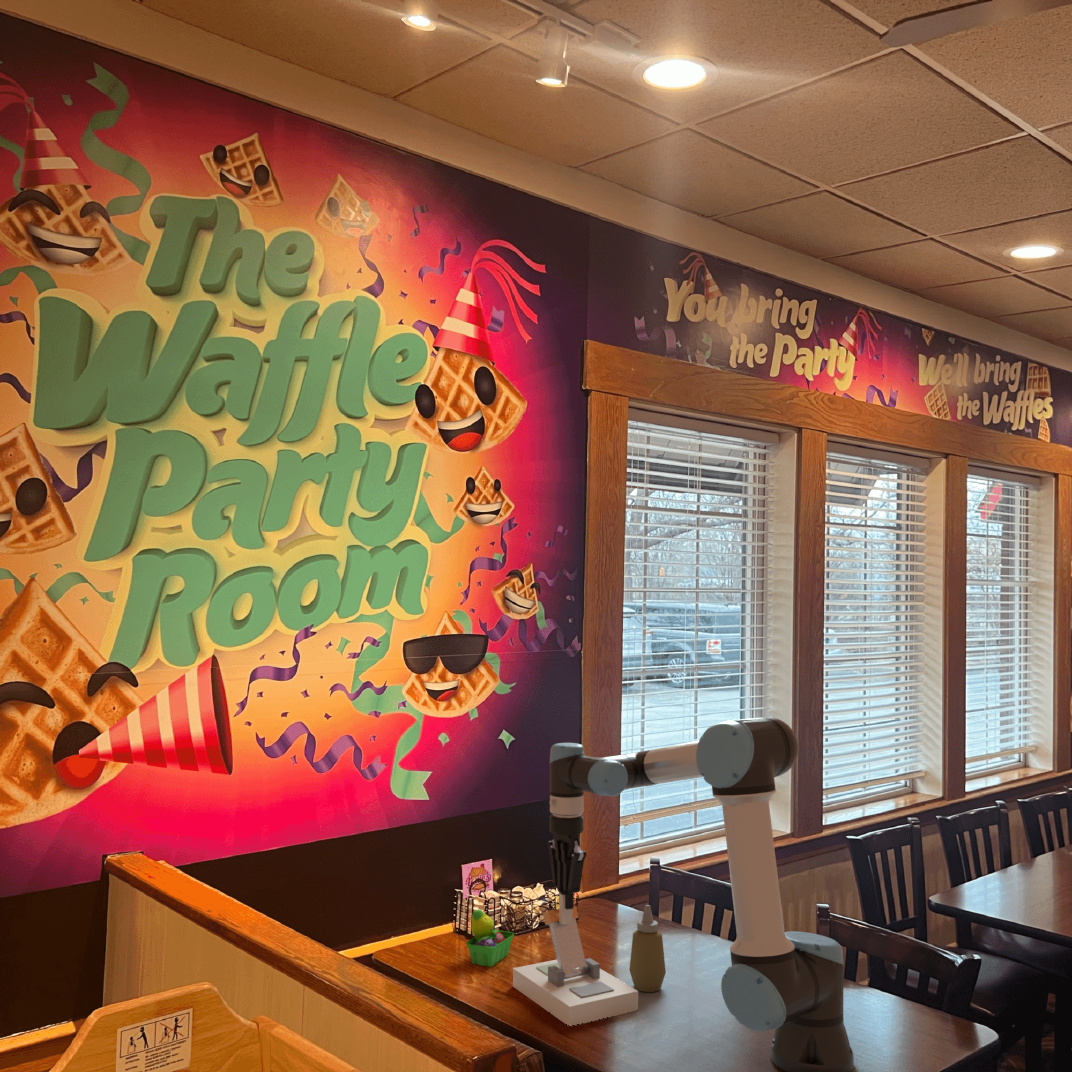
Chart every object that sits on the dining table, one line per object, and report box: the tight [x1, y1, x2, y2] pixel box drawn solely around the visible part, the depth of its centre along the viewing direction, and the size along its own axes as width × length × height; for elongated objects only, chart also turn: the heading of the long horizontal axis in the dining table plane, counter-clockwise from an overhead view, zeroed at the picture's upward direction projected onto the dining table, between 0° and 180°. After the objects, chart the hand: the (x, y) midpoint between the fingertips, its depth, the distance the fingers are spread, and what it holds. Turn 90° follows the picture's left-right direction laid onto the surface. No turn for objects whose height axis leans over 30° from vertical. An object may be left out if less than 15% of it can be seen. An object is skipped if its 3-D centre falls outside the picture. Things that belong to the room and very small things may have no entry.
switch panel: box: [512, 957, 639, 1027], centre depth 221 cm, size 24×17×7 cm
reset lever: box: [542, 905, 590, 979], centre depth 224 cm, size 3×7×14 cm, turn 120°
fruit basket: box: [465, 909, 515, 968], centre depth 245 cm, size 11×9×11 cm
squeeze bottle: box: [629, 904, 666, 993], centre depth 228 cm, size 8×8×18 cm
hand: (566, 922), depth 224 cm, fingers closed
